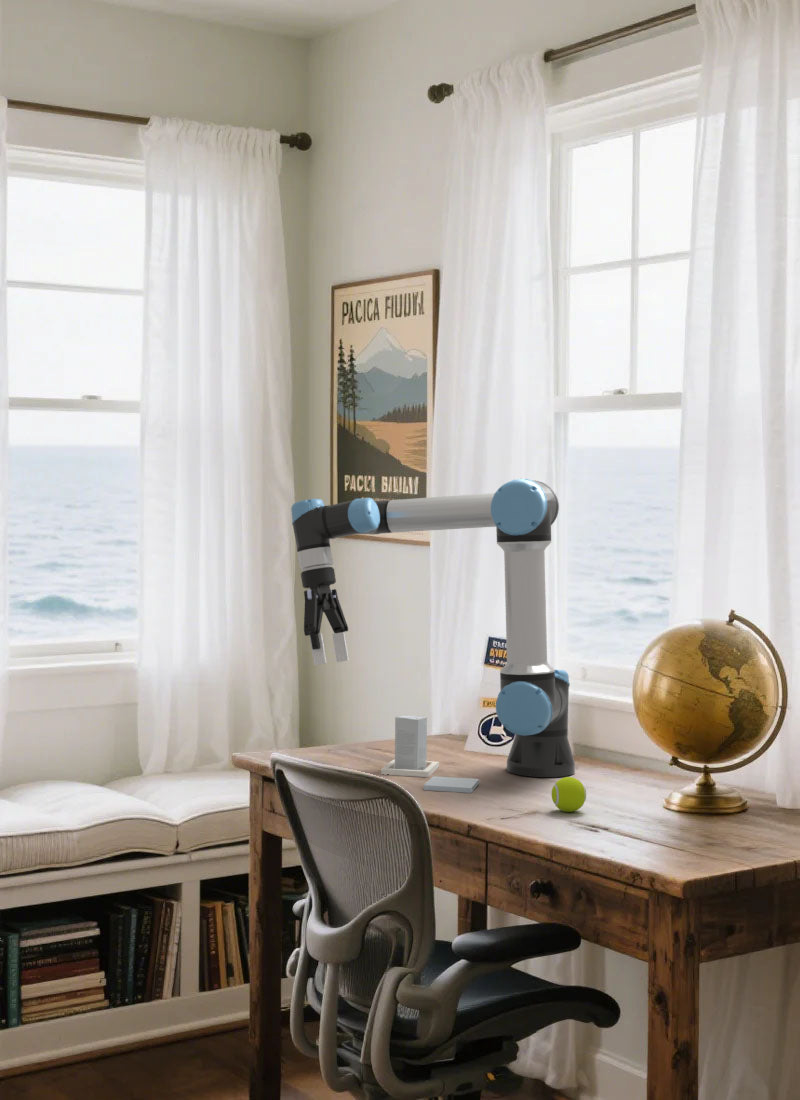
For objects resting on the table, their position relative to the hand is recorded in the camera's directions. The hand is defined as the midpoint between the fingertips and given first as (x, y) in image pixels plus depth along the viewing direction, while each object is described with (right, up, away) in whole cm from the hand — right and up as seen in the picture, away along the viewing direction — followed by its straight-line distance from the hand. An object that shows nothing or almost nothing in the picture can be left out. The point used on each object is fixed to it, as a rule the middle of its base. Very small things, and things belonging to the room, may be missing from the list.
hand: (331, 662), depth 311 cm
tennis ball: (+48, -26, -40) cm, 68 cm away
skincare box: (+17, -24, -1) cm, 30 cm away
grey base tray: (+17, -24, -1) cm, 30 cm away
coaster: (+26, -24, -18) cm, 40 cm away
